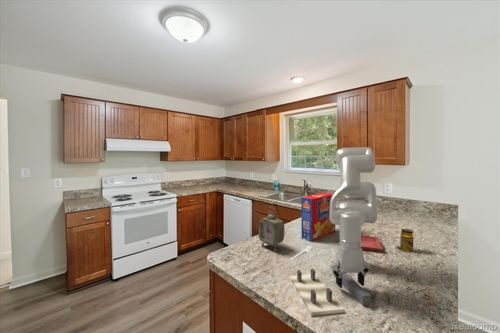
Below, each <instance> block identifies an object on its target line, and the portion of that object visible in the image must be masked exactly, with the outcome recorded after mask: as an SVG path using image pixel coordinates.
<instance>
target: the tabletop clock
mask: <svg viewBox="0 0 500 333" xmlns="http://www.w3.org/2000/svg"><path fill="white" fill-rule="evenodd" d="M269 208H271V209H273V210H274V212H273V211H269ZM266 210H267V213H269V214H267V217H263V218H260V219H259V220H258V223H257V224H258V225H257V228H258V229H257V230H258V238H259V241H261V242H262V243H260V244H261V246H262V247H263V246H265V244H266V245H270V246H272V247H274V249H273V251H274V252H277V247H276V246H277V245H278V244H281V243H283V241H284V239H285V223H284V221H283V220H282V219H280V218H277V217H276V215H275V214H276V212H277V211H276V208H275V207H273V206H268V207H267V208H266Z"/></svg>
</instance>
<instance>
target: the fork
mask: <svg viewBox="0 0 500 333" xmlns="http://www.w3.org/2000/svg"><path fill="white" fill-rule="evenodd" d="M312 248H313V246H311V245H310V246H309V245H307V246H306V247H305V249H303V250H301V252H299V253H298V254H296V255H295V256H294V257H292V258H290V260H291V261H292V260H294V259H296V258H298V257H299V256H302V254H304V253H309V252H310V251H311V249H312ZM305 250H306V251H305Z"/></svg>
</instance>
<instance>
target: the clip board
mask: <svg viewBox="0 0 500 333" xmlns="http://www.w3.org/2000/svg"><path fill="white" fill-rule="evenodd" d="M288 277H289V279H290V281H291V283H292V285H293V286H294V288H295V290H296V292H297V294H298V295H299V297H300V299H301V300H302V302H303V303H304V306H305V307H306V309H307V311H308V312H309V315H311V317H314V316H323V315H331V314H332V315H333V314H340V313H344V312H345V308H344V306H342V304H341V303H340V302H339V301H338V300H337V298H336V297H335V296H334V294H333V291H332V289H331V288H330V287H327V286H326V285H325V283H324V282H323V281H322V280H321V279H320V277H319V276H318V275H317V273H316V270H315V269H314V268H310V272H307V273H306V272H304V273H303V272H302V271H301V270H300V269H297V271H296V274H295V273H294V274H293V273H292V274H289V276H288Z"/></svg>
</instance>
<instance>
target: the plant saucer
mask: <svg viewBox="0 0 500 333" xmlns="http://www.w3.org/2000/svg"><path fill="white" fill-rule="evenodd" d="M361 240H362V241H363V243H361V247H362V250H363V251H368V252H369V251H370V252H378V253H379V252H382V250H383V249H384V248H383V245H382V244H381V241H380V240H379V238H378V237H376V236H370V235H369V236H368V235H361Z"/></svg>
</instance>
